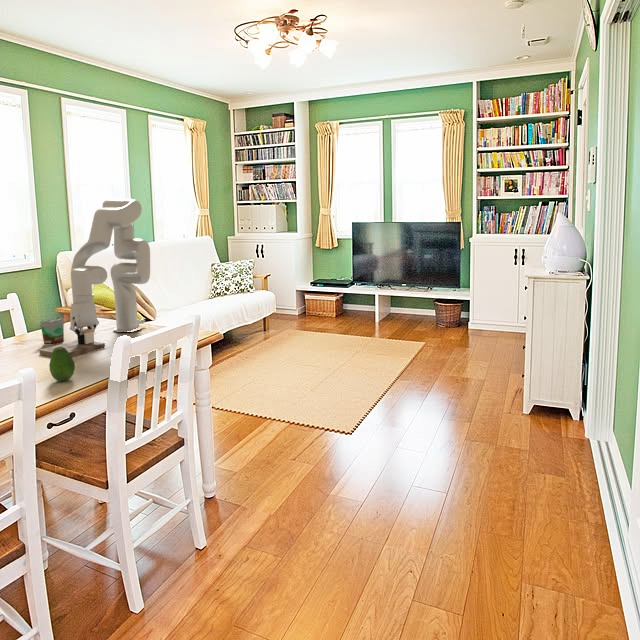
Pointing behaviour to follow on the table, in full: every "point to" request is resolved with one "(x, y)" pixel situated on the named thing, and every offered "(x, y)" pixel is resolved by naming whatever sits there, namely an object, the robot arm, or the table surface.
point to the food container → (53, 331)
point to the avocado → (61, 364)
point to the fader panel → (74, 348)
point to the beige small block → (88, 335)
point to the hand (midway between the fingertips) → (86, 342)
